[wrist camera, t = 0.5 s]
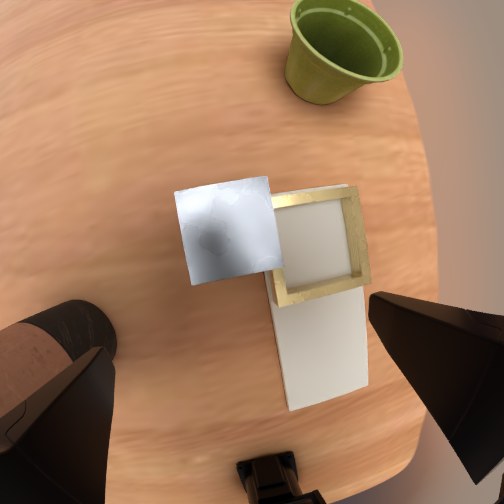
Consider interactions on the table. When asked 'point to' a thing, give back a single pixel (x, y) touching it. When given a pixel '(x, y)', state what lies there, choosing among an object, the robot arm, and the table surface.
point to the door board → (318, 307)
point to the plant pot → (339, 49)
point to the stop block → (228, 229)
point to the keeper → (354, 240)
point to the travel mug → (48, 347)
